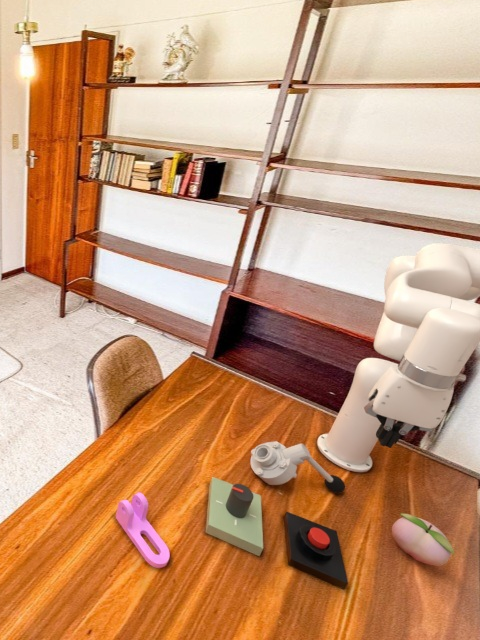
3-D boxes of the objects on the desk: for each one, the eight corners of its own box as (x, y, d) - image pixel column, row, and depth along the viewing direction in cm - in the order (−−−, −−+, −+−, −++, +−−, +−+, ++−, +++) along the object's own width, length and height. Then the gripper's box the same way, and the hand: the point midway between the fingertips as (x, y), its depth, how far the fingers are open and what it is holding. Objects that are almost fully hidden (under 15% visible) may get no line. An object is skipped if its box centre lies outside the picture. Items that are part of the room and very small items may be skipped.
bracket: (115, 517, 93) (119, 498, 90) (134, 508, 95) (138, 488, 92) (154, 572, 82) (160, 552, 79) (174, 560, 85) (180, 540, 82)
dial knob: (245, 505, 94) (253, 487, 91) (246, 521, 90) (254, 503, 87) (225, 497, 95) (232, 479, 92) (225, 513, 92) (232, 495, 89)
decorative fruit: (444, 562, 86) (468, 533, 82) (431, 583, 82) (456, 555, 78) (391, 525, 93) (410, 497, 89) (377, 543, 89) (397, 515, 85)
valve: (295, 521, 104) (357, 506, 96) (247, 476, 100) (307, 457, 93) (284, 485, 112) (339, 468, 104) (240, 442, 109) (293, 422, 101)
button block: (283, 516, 94) (288, 506, 93) (333, 536, 91) (339, 526, 89) (287, 565, 85) (294, 553, 83) (344, 589, 81) (351, 578, 79)
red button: (306, 529, 88) (309, 524, 87) (325, 537, 87) (328, 532, 86) (308, 544, 85) (311, 539, 85) (328, 552, 84) (331, 547, 83)
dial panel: (209, 484, 102) (212, 476, 100) (257, 503, 97) (261, 494, 96) (205, 532, 90) (208, 524, 89) (259, 556, 86) (263, 547, 85)
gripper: (469, 372, 74) (423, 442, 82) (371, 349, 80) (336, 417, 88) (489, 397, 68) (437, 470, 76) (381, 370, 74) (343, 440, 82)
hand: (383, 441), depth 82 cm, fingers closed
